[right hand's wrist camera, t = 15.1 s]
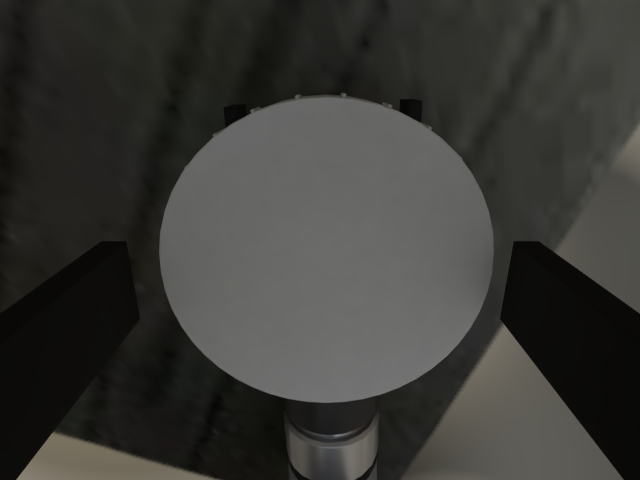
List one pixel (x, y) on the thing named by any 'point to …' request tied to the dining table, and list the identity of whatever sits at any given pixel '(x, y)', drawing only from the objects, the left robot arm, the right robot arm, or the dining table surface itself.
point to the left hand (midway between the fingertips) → (322, 103)
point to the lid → (326, 249)
